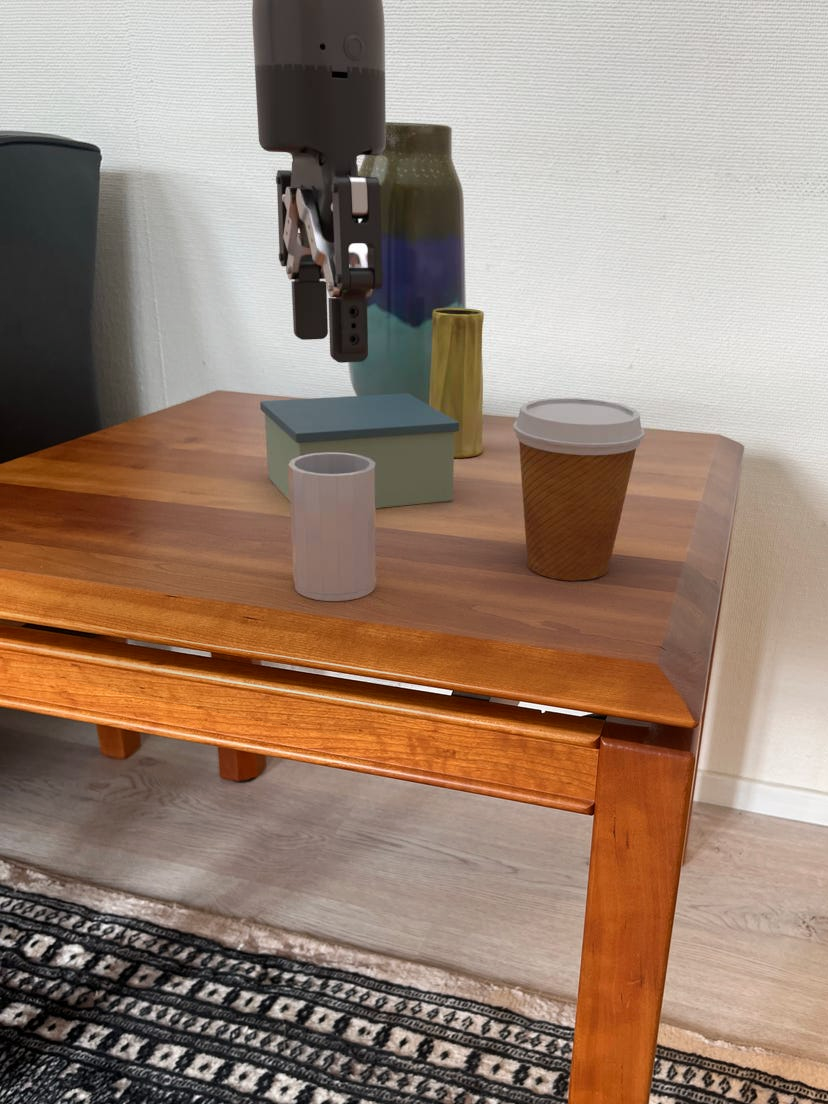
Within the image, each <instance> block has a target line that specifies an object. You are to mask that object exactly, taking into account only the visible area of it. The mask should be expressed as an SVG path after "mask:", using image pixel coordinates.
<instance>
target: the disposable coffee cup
mask: <svg viewBox="0 0 828 1104" xmlns="http://www.w3.org/2000/svg"><path fill="white" fill-rule="evenodd" d="M512 425H513V426H512V427H513V430H514V432H515V437H516V439H517V441H518V445H519V446H518V447H519V456H520V457H519V460H520V473H521V476H520V477H521V488H522V493H521V494H522V506H523V508H522V509H523V520H524V533H525V534H524V535H525V549H526V560H527V561H526V564H527V567H528V568H529V569H530V570H531V571H533V572H534V573H536V574H539V575H541V576H544V577H546V578H550V579H554V580H563V581H585V580H593V579H597V578H600V577H602V576H605V574H607V573H608V572H609V569H610V564H611V559H612V556H613V552H614V549H615V542H616V540H617V534H618V532H619V531H618V530H619V525H620V522H621V517H622V513H623V508H624V503H625V500H626V496H627V495H626V494H627V490H628V485H629V482H630V477H631V473H632V469H633V465H634V461H635V456H636V455H635V454H636V451H637V448H638V447H639V446H640V444H641V440H642V439H644V437H645V433H646V432H645V429H644V428H643V427H642V422H641V414H640V413H639V411H638V410H637V409H635V408H634V407H631V406H629V405H626V404H623V403H619V402H613V401H607V400H604V399H603V400H602V399H593V398H583V397H552V398H551V397H550V398H543V399H541V398H540V399H534V400H530V401H527V402H525V403H523V404H522V405H521V407H520V410H519V412H518V416H517V419H516V420H515V421H514V422H513V424H512Z"/></svg>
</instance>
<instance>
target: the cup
mask: <svg viewBox="0 0 828 1104" xmlns="http://www.w3.org/2000/svg"><path fill="white" fill-rule="evenodd" d="M288 466H289V489H290V501H289V509H290V511H289V512H290V529H291V530H290V532H291V554H292V555H291V557H292V579H293V585H294V589H295V591H296V592H297V593H298V594H299V595H301V596H302V597H305V598H308V599H310V600H315V601H321V602H345V601H352V600H353V601H354V600H357V599H361V598H364V597H366V596H369V595H370V594H372V593H373V592H374V590H375V589H376V587H377V581H376V580H377V508H376V465H375V462H374V461H373V460H372V459H370V458H368V457H364V456H361V455H357V454H350V453H337V452H325V453H313V454H308V455H303V456H299V457H297V458H294V459H292V460H291V461H290V463H289V465H288Z"/></svg>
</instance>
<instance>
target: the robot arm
mask: <svg viewBox="0 0 828 1104" xmlns="http://www.w3.org/2000/svg"><path fill="white" fill-rule="evenodd" d="M384 11H385V10H384V5H383V0H252V7H251V21H252V22H251V23H252V25H251V27H252V39H253V40H252V42H253V57H254V58H253V59H254V77H255V79H254V80H255V95H256V96H255V97H256V114H257V130H258V132H257V133H258V134H257V135H258V143H259V145H260V147H261V148H262V149H263V150H264V151H266V152H268V153H287V154H290V155H291V157H292V158H291V159H292V162H291V170H290V169H289V170H288V169H286V170H285V169H278V170H277V172H276V176H275V183H276V192H277V193H276V195H277V196H276V197H277V223H278V247H279V248H278V250H279V251H278V260H279V263H280V265H281V267H283V268H285V273H286V275H287V278H288V280H291V302H292V323H293V334H294V336H295V337H296V338H298V339H300V340H302V341H306V340H307V341H309V340H310V341H311V340H323V339H326V337H327V336H328V335H329V354H330V358H331V359H332V360H333V361H336V362H337V363H339V364H341V363H343V364H344V363H348V362H362V361H364V360H365V359H366V358H367V356H368V322H367V298H365V297H370V296H371V295H372V290H373V289H381V287H382V282H383V275H382V243H381V208H380V184H379V180H378V178H377V177H364V176H359V174H358V172H359V166H358V163H357V162H358V157H359V156H365V155H379V154H381V153H382V152H383V151H384V149H385V146H386V122H387V120H386V117H387V116H386V115H387V114H386V28H385V12H384ZM367 260H368V262H367ZM350 265H352V266H353V267H354V268H350ZM327 292H328V293H327ZM328 295H329V297H328ZM328 333H329V334H328Z"/></svg>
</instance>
